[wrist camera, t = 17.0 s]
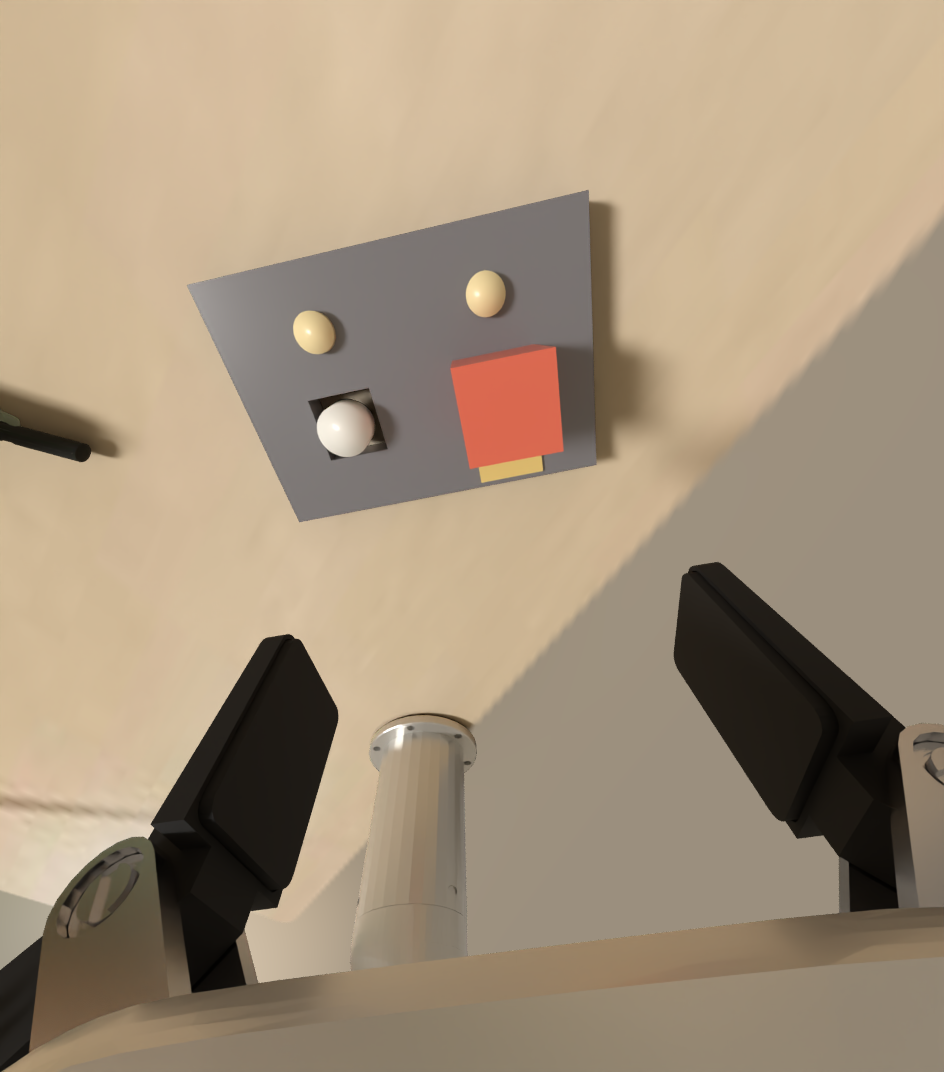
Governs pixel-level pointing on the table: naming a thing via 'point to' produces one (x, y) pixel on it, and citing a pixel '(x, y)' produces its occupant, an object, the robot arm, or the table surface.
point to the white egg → (346, 427)
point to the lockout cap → (509, 404)
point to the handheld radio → (41, 440)
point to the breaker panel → (407, 349)
